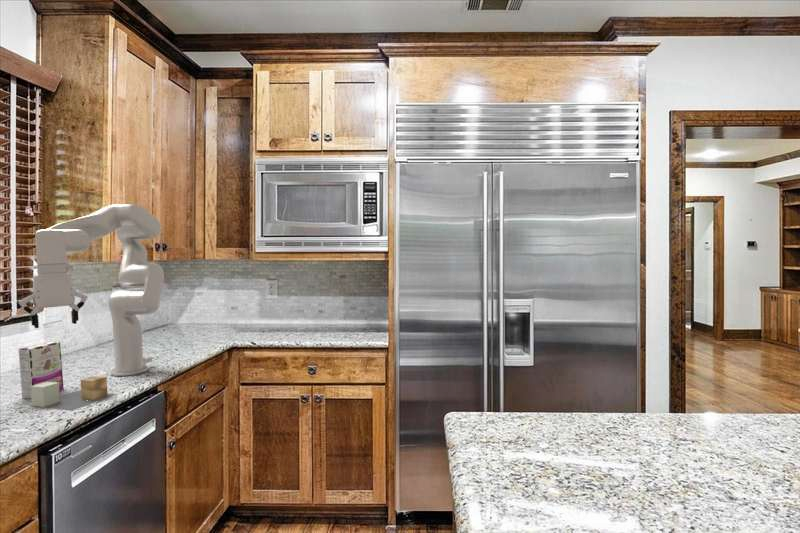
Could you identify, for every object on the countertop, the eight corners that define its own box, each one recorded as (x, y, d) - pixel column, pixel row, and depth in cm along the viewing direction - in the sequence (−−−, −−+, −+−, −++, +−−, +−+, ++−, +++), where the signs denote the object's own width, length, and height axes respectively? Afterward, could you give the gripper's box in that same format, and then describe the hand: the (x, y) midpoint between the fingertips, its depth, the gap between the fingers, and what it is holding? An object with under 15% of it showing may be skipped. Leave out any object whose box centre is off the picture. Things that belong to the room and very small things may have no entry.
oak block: (95, 393, 159) (94, 375, 159) (107, 394, 158) (106, 376, 158) (81, 398, 155) (80, 379, 154) (93, 399, 153) (92, 380, 153)
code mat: (77, 391, 164) (77, 390, 164) (117, 394, 159) (117, 394, 159) (29, 406, 148) (29, 405, 148) (71, 411, 143) (71, 410, 143)
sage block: (48, 400, 154) (46, 381, 153) (59, 401, 152) (58, 382, 152) (31, 405, 149) (30, 386, 148) (44, 406, 147) (42, 387, 147)
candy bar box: (51, 388, 168) (49, 341, 167) (64, 389, 167) (61, 341, 166) (20, 398, 157) (17, 348, 156) (33, 399, 156) (30, 348, 155)
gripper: (82, 268, 158) (85, 320, 159) (15, 271, 146) (18, 328, 147) (88, 268, 153) (91, 323, 154) (18, 271, 141) (22, 330, 142)
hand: (55, 325), depth 150 cm, fingers open, 9 cm apart
